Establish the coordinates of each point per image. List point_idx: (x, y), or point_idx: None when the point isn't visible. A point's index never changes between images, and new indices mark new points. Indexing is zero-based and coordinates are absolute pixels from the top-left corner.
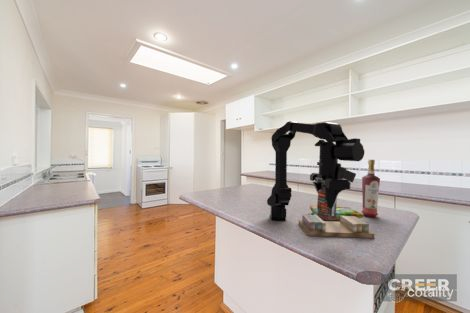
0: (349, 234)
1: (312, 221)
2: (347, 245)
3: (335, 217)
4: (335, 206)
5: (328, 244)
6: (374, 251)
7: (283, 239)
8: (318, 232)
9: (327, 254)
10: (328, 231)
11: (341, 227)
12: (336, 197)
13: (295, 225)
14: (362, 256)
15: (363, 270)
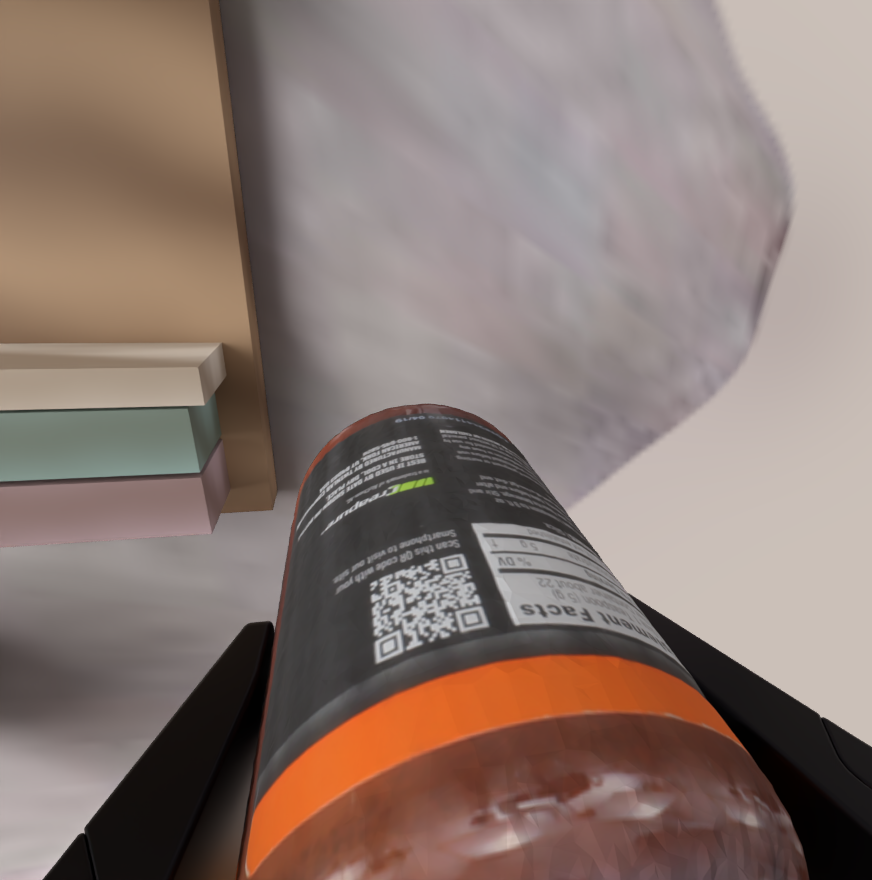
0: (220, 60)
1: (182, 501)
2: (439, 224)
3: (489, 423)
4: (577, 530)
5: (430, 383)
6: (550, 7)
7: None
8: (262, 418)
9: (569, 443)
10: (227, 316)
11: (6, 51)
12: (869, 746)
13: None
14: (615, 206)
15: (750, 313)
